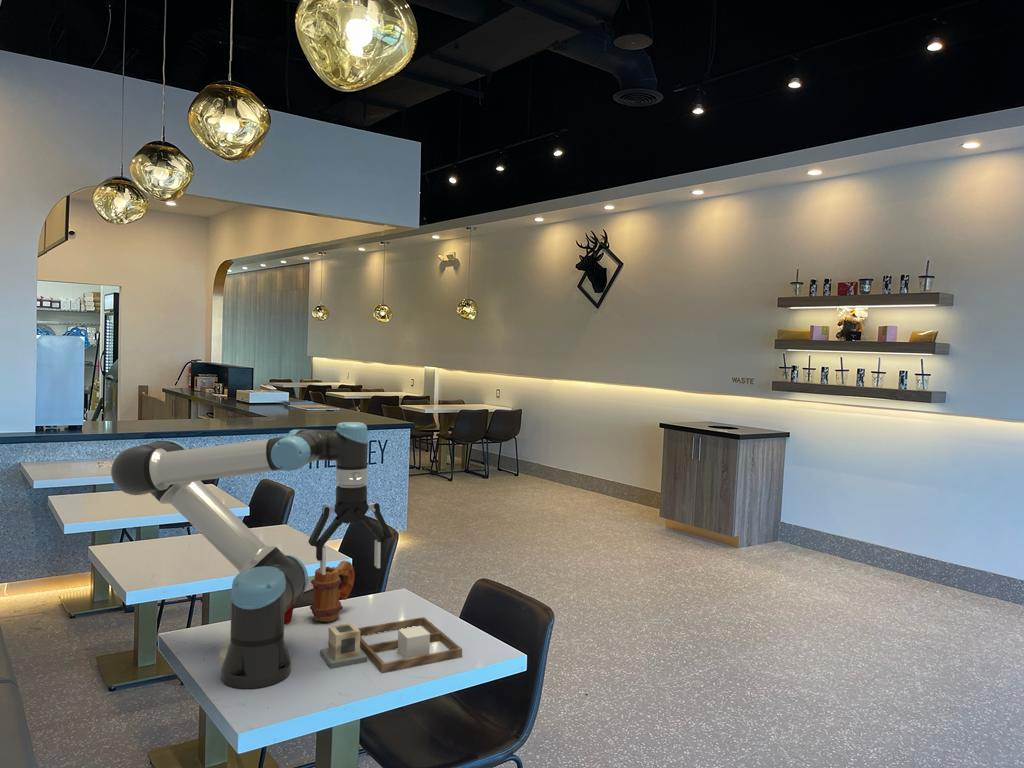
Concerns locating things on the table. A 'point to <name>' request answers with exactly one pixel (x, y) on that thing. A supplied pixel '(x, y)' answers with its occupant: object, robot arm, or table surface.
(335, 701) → the table surface
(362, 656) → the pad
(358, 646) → the letter cube
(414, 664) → the box
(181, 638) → the table surface
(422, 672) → the table surface
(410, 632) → the blank block
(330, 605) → the mug
